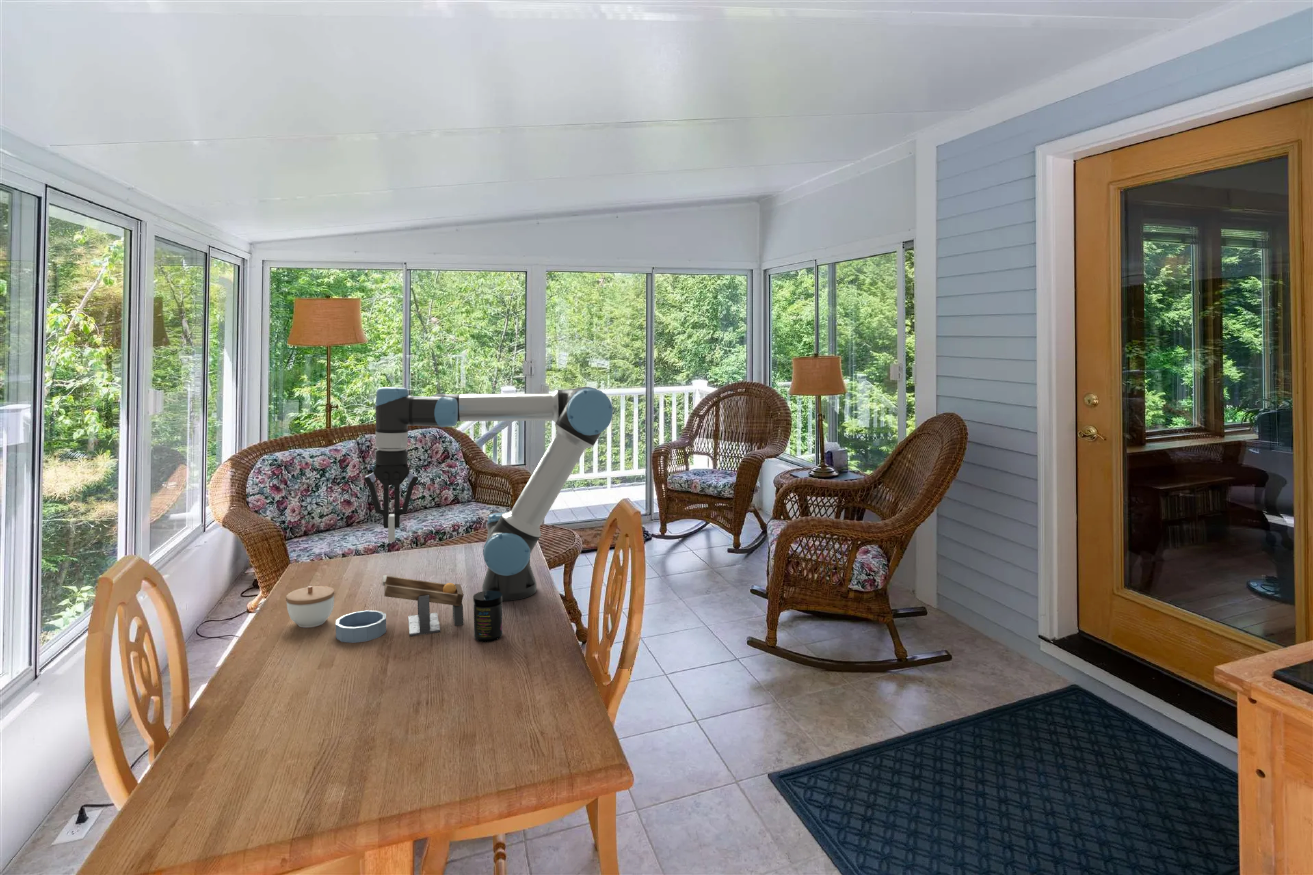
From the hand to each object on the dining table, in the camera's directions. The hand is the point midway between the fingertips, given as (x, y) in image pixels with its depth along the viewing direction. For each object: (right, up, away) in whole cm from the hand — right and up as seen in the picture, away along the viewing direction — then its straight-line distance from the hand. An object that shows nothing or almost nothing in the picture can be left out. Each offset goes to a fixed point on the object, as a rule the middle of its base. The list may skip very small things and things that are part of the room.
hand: (391, 540), depth 170 cm
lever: (+8, -13, -2) cm, 15 cm away
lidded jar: (-19, -20, -3) cm, 28 cm away
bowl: (-4, -21, -9) cm, 23 cm away
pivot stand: (+10, -21, -4) cm, 23 cm away
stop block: (+17, -20, -1) cm, 27 cm away
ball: (+16, -12, -2) cm, 20 cm away
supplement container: (+27, -22, -11) cm, 37 cm away
